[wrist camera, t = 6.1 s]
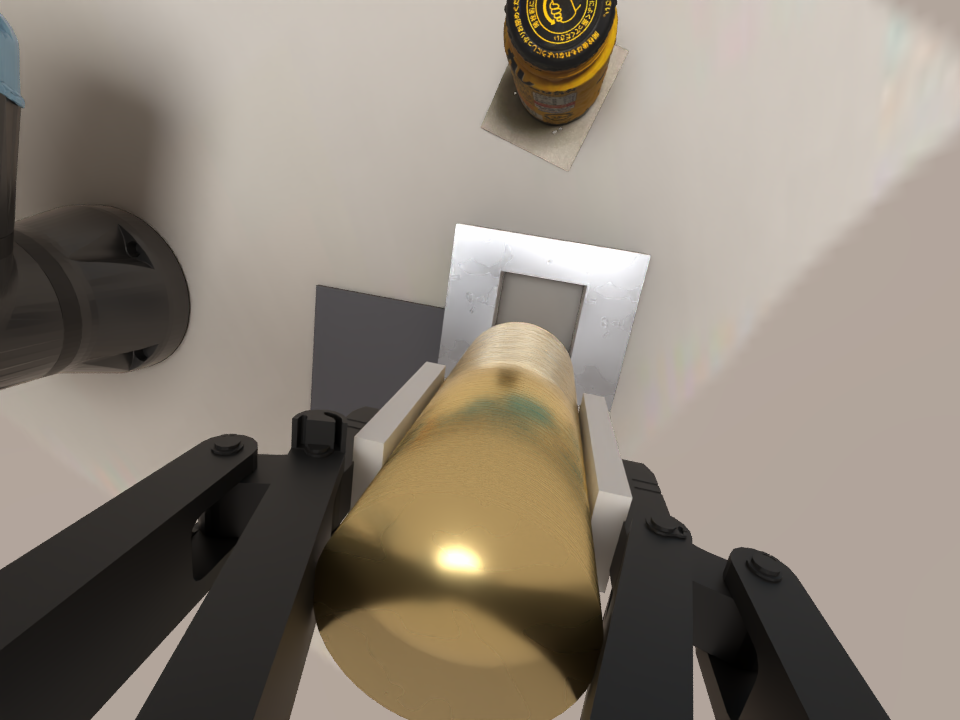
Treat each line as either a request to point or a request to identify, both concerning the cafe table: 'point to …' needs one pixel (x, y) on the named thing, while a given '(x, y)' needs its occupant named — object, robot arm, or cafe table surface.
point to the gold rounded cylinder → (473, 548)
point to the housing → (599, 269)
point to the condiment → (555, 74)
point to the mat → (368, 347)
